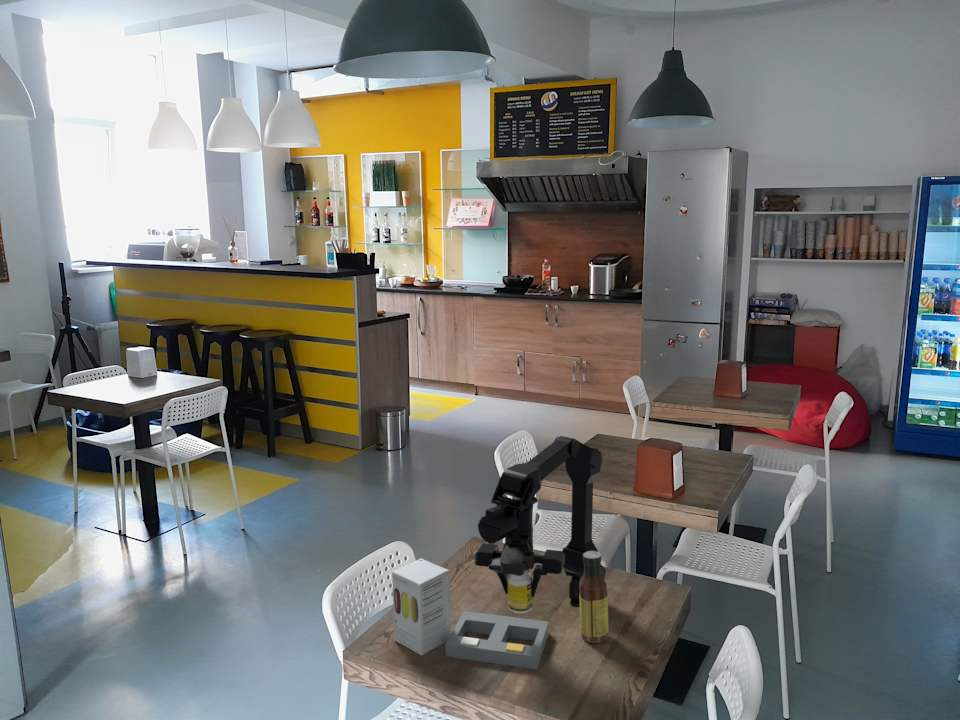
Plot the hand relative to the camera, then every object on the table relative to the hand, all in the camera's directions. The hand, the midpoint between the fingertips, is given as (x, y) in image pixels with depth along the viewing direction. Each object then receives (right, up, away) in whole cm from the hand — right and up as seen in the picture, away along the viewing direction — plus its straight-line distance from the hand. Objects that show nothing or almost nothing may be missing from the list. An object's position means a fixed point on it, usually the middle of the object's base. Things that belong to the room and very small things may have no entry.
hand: (520, 594), depth 159 cm
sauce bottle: (+17, -12, +6) cm, 21 cm away
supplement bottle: (0, -3, +1) cm, 3 cm away
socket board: (-5, -12, +3) cm, 13 cm away
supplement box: (-22, -12, +6) cm, 26 cm away
